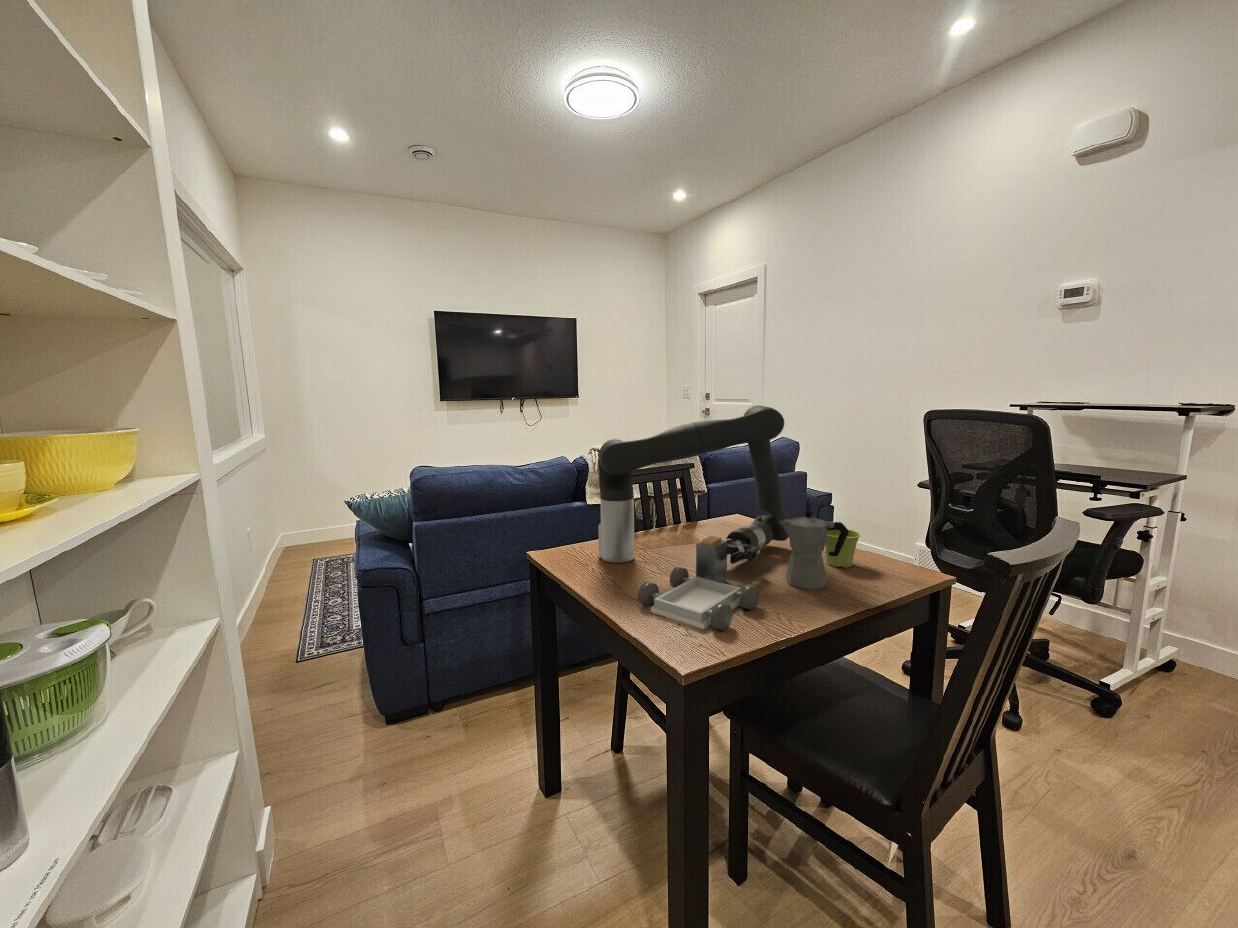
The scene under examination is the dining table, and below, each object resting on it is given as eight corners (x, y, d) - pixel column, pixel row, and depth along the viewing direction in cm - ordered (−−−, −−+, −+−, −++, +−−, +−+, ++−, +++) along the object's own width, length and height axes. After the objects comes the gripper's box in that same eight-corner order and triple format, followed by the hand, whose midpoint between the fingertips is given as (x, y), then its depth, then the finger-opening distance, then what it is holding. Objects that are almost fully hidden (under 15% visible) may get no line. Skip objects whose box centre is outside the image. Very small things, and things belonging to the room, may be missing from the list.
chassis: (638, 607, 111) (637, 585, 111) (681, 584, 124) (681, 564, 123) (719, 634, 98) (719, 609, 98) (759, 605, 111) (759, 583, 110)
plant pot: (834, 556, 143) (835, 525, 141) (866, 565, 135) (868, 533, 133) (812, 562, 138) (814, 531, 136) (844, 572, 130) (846, 539, 128)
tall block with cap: (696, 583, 124) (696, 539, 123) (708, 576, 129) (709, 534, 127) (714, 588, 121) (714, 543, 120) (726, 581, 126) (727, 537, 124)
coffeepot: (774, 585, 122) (776, 511, 120) (780, 572, 131) (782, 503, 128) (845, 595, 116) (848, 517, 113) (846, 581, 124) (849, 508, 122)
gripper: (722, 523, 142) (691, 536, 130) (771, 531, 133) (742, 546, 121) (722, 549, 143) (691, 564, 131) (771, 559, 134) (742, 577, 122)
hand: (715, 556), depth 126 cm, fingers open, 8 cm apart
